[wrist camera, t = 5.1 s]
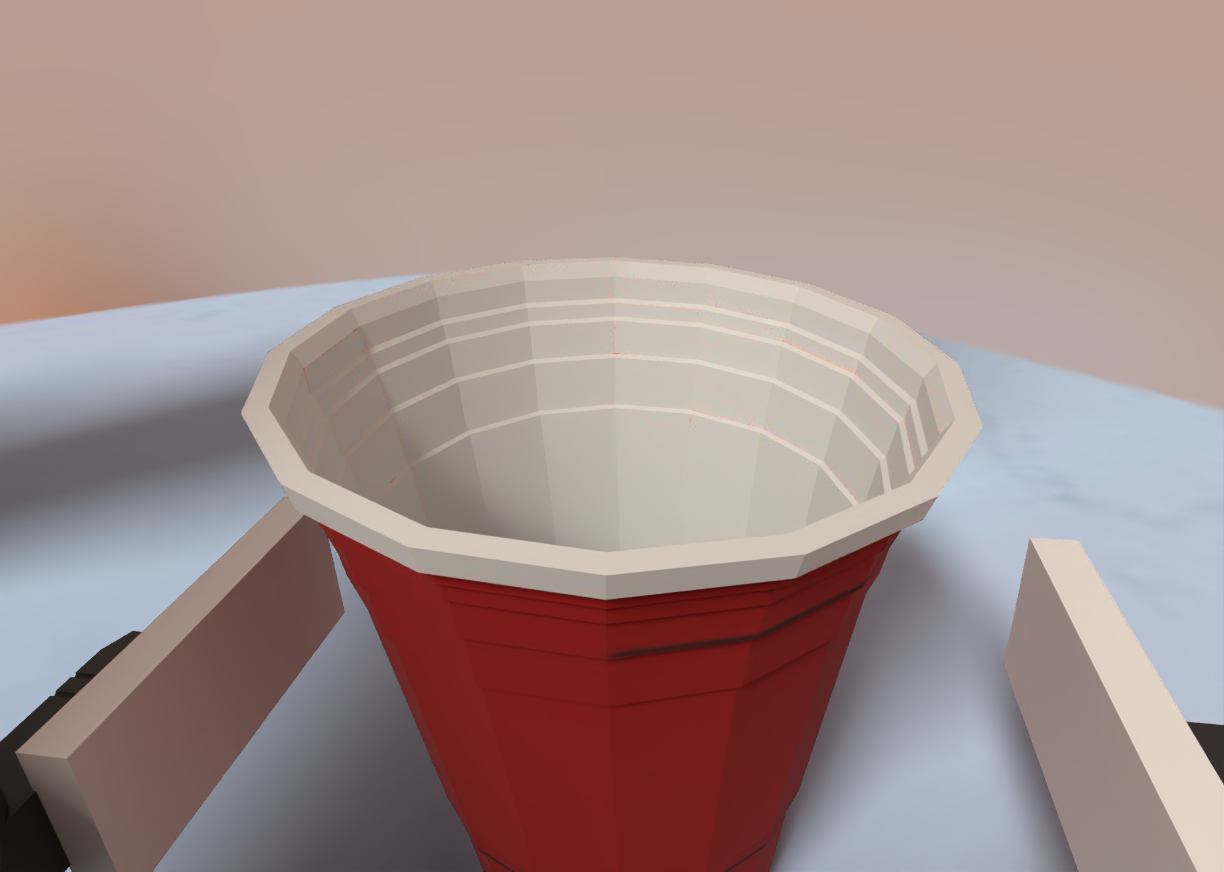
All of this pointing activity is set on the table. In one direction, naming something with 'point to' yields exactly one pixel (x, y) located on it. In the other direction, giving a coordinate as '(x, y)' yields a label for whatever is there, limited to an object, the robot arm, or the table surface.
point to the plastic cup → (613, 533)
